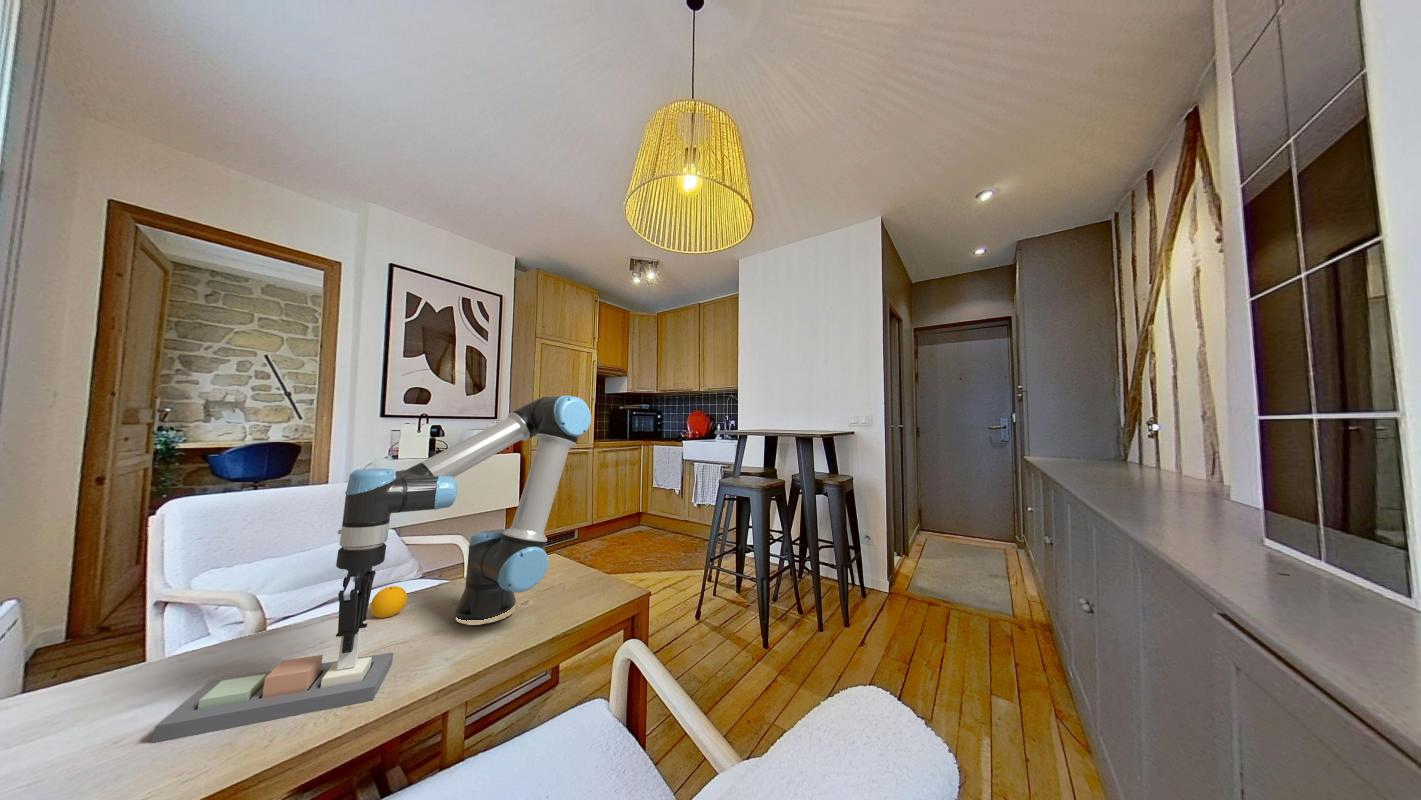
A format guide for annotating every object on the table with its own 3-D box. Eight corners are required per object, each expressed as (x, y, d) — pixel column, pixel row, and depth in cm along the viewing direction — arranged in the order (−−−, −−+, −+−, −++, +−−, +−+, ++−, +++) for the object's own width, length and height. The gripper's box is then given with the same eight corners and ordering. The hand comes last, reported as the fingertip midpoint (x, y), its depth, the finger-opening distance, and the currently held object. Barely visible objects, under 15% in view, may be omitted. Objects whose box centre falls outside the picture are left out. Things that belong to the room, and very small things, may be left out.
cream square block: (369, 674, 83) (371, 656, 84) (359, 691, 78) (361, 672, 78) (332, 680, 81) (334, 662, 81) (319, 698, 75) (321, 679, 76)
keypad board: (391, 664, 88) (393, 652, 88) (373, 700, 76) (374, 686, 76) (208, 694, 76) (210, 680, 76) (152, 742, 64) (155, 726, 64)
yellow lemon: (409, 607, 115) (412, 580, 116) (401, 619, 108) (404, 590, 109) (374, 610, 112) (378, 583, 113) (364, 623, 105) (367, 593, 106)
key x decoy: (320, 673, 80) (322, 654, 80) (306, 690, 75) (309, 671, 75) (279, 679, 77) (282, 660, 78) (262, 698, 72) (265, 677, 72)
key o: (263, 692, 76) (266, 673, 77) (244, 713, 71) (247, 692, 71) (219, 700, 74) (222, 680, 74) (195, 722, 68) (199, 700, 69)
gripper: (351, 538, 86) (335, 653, 84) (325, 555, 74) (306, 689, 72) (394, 536, 89) (380, 647, 87) (376, 552, 78) (359, 680, 75)
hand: (347, 666), depth 80 cm, fingers closed
